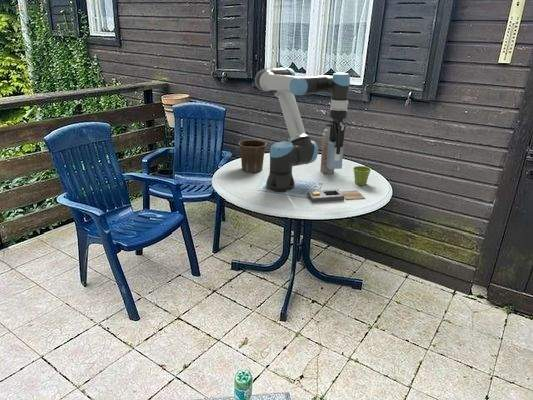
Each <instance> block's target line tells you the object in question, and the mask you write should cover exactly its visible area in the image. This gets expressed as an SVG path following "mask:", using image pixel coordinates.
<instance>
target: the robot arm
mask: <svg viewBox="0 0 533 400" xmlns="http://www.w3.org/2000/svg"><path fill="white" fill-rule="evenodd" d="M254 84H255V87H256V88H257V89H258V90H260V91H263V92H273V95H274V96H275V97H276V98H278V100H279V104H280V105H279V106H280V108H281V110H282V115H283V117H284V122H285V124H286V125H285V126H286V128H287V129H286V130H287V131H288V132H287V133H288V135H289V138H290V139H289V141H286V140H285V141H277V142H275V143H273V144H272V145H271V146H270V149H269V174H268V176H267V180H266V182H265V183H266V185H265V187H266V189H268V190H269V191H272V192H279V193H285V192H287V191H290V190H292V189H294V188H295V186H296V182H295V179H294V175H293V167H297V166H302V165H308V164H312V163H314V162H315V161H316V160H317V159H318V154H319V147H318V145H317V143H316V142H315V141H314V140H311V138H310V135H308V134H307V133H306V130H305V127H304V123H303V121H302V120H303V119H302V116H301V113H300V110H299V107H298V103H297V101H296V97H295V96H304V95H314V94H316V95H317V94H329V95H331V97H330V98H331V99H330V110H329V118H330V119H331V120H330V121H329V124H330V138H329V141H331V142H336V146H334V147H335V150H334V161H339V160H340V151H341V147H343V144H344V142H345V141H344V140H345V131H346V125H344V120H345V119H346V118H347V117H348V110H347V109H348V104H349V103H350V102H349V94H350V93H349V91H350V84H351V75H350V74H349V73H347V72H334V73H333V74H332V76H330V75H327V74H326V75H325V74H319V75H317V76H316V75H315V76H297V74H296V72H295V71H294V69H293V68H290V67H285V66H283V67H274V68H272V67H270V68H269V67H267V68H262V69H261V70H259V71H258V72H257V73H256V75H255V78H254Z"/></svg>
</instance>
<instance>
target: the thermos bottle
mask: <svg viewBox="0 0 533 400" xmlns="http://www.w3.org/2000/svg"><path fill="white" fill-rule="evenodd" d="M329 138H330V123H326V125H325V129H324V130H323V133H322V139H321V140H322V141H321V142H322V143H321V155H320V171H319V172H321V173H323V174H333V173H334V172H335V169H329V168H328V167H327V153H328V142H331V141H329Z"/></svg>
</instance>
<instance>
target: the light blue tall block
mask: <svg viewBox="0 0 533 400" xmlns="http://www.w3.org/2000/svg"><path fill="white" fill-rule="evenodd" d="M334 146H336V142H328V153H327V167H328V168H329V169H334V170H339V169H340V170H341V169H342V168H343V157H344V147H345V143H343V147H341V151H340V160H339V161H334V150H335V147H334Z"/></svg>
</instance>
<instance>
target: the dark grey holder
mask: <svg viewBox="0 0 533 400" xmlns="http://www.w3.org/2000/svg"><path fill="white" fill-rule="evenodd" d="M306 195H307V197H308V199H309V200H310V201H311V202H312V203H323V202H337V201H345V199H344V195H343V194H342V193H341V192H340V190H339V189H337V188H334V189H321V190H320V189H319V190H307V191H306Z"/></svg>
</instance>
